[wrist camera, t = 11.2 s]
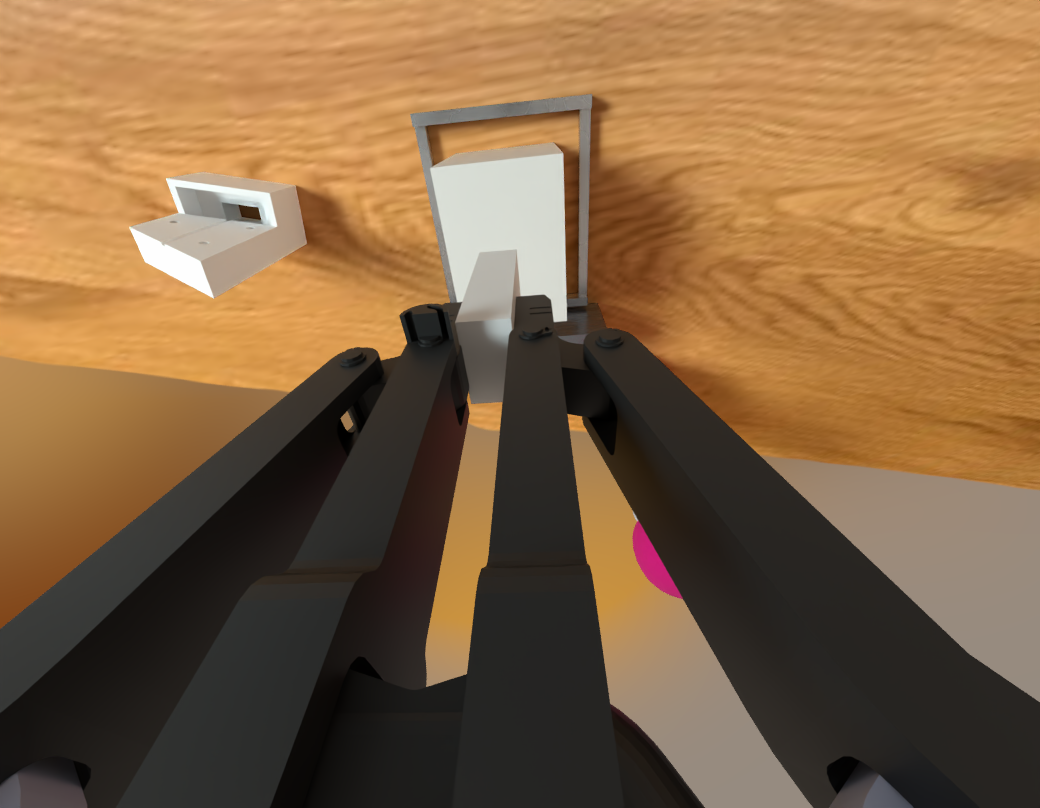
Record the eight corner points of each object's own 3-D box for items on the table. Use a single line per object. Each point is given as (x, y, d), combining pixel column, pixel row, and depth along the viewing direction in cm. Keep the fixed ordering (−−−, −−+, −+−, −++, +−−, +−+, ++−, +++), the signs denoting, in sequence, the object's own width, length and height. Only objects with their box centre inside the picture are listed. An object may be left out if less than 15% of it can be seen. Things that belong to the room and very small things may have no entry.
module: (456, 153, 24) (430, 167, 17) (553, 142, 23) (563, 153, 17) (477, 283, 29) (463, 331, 22) (558, 275, 28) (567, 323, 22)
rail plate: (399, 115, 22) (371, 115, 18) (605, 93, 22) (623, 88, 18) (447, 333, 31) (435, 365, 27) (596, 322, 30) (607, 353, 26)
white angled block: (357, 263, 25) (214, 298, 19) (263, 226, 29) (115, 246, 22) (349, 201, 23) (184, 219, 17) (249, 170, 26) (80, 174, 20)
